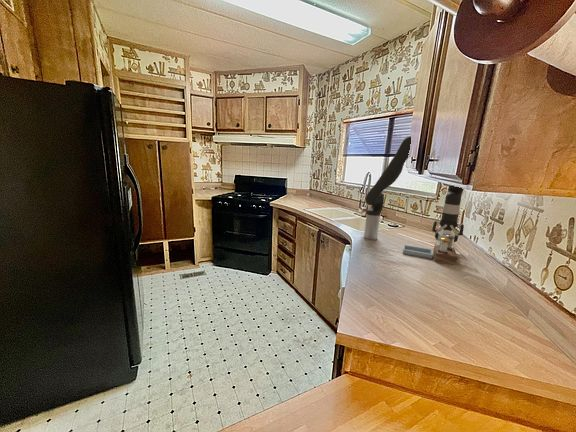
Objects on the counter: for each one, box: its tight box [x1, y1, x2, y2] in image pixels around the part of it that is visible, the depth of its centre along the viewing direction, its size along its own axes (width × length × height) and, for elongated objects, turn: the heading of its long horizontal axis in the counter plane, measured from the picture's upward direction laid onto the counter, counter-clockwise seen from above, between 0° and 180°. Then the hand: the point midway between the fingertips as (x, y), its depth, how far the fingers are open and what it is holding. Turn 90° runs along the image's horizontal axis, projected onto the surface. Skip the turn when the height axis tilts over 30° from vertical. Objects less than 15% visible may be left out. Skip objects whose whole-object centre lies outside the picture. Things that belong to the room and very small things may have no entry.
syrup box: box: [434, 225, 453, 246], centre depth 158 cm, size 6×6×14 cm
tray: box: [402, 244, 434, 260], centre depth 149 cm, size 10×15×2 cm
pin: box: [446, 234, 455, 250], centre depth 144 cm, size 4×4×13 cm
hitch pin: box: [440, 238, 450, 254], centre depth 139 cm, size 4×4×13 cm
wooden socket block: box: [432, 244, 458, 266], centre depth 142 cm, size 16×10×5 cm, turn 153°
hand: (445, 240), depth 137 cm, fingers open, 8 cm apart
